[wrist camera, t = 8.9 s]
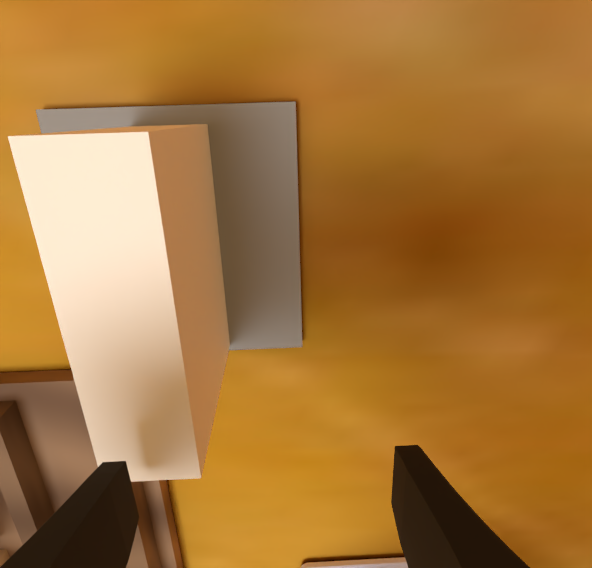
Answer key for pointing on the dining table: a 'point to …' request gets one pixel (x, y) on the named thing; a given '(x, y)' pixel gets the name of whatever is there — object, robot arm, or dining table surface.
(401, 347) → the dining table surface
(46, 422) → the rack
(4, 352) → the dining table surface
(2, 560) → the offcut
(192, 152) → the cream rectangular block
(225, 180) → the mat
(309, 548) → the dining table surface
